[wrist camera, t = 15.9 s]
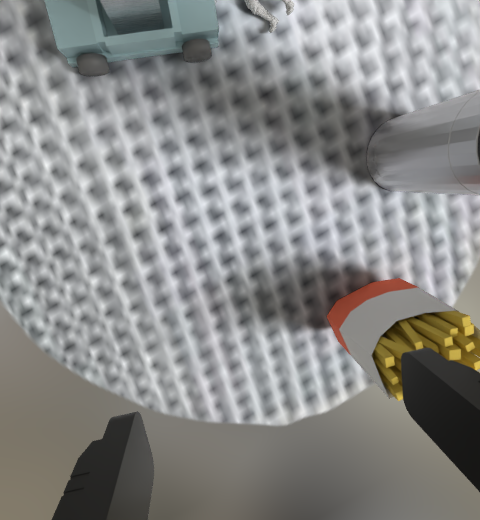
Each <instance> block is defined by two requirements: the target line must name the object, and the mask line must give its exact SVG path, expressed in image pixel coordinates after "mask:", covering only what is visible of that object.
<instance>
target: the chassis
mask: <svg viewBox="0 0 480 520" xmlns="http://www.w3.org/2000/svg"><path fill="white" fill-rule="evenodd" d="M44 1H45V4H46V8H47V12H48V16H49V19H50V23H51V27H52V31H53V34H54V38H55V42H56V46H57V49H58V50H59V51H60V52H61V53H62V54H63V55H64V56H65V57H66V58H67V60H68V64H70V65H71V66H72V67H77V66H78V69H79V72H80V74H82V75H84V76H102V75H105V74H107V73H109V66H108V62H114V61H121V60H128V59H136V58H143V57H150V56H157V55H165V54H172V53H179V52H183V55H184V60H185V61H187V62H201V61H204V60H207V59H209V58H210V57H211V56H212V54H211V48H215V47H218V43H219V42H218V32H219V27H218V21H217V15H216V8H215V2H214V0H159V3H160V8H161V14H162V19H163V24H164V29H161V30H153V31H146V32H138V33H130V34H123V35H118V33H117V31H116V30H115V28H114V26H113V24H112V22H111V20H110V18H109V16H108V15H107V13H106V11H105V9H104V7H103V5H102V3H101V1H100V0H44Z"/></svg>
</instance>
